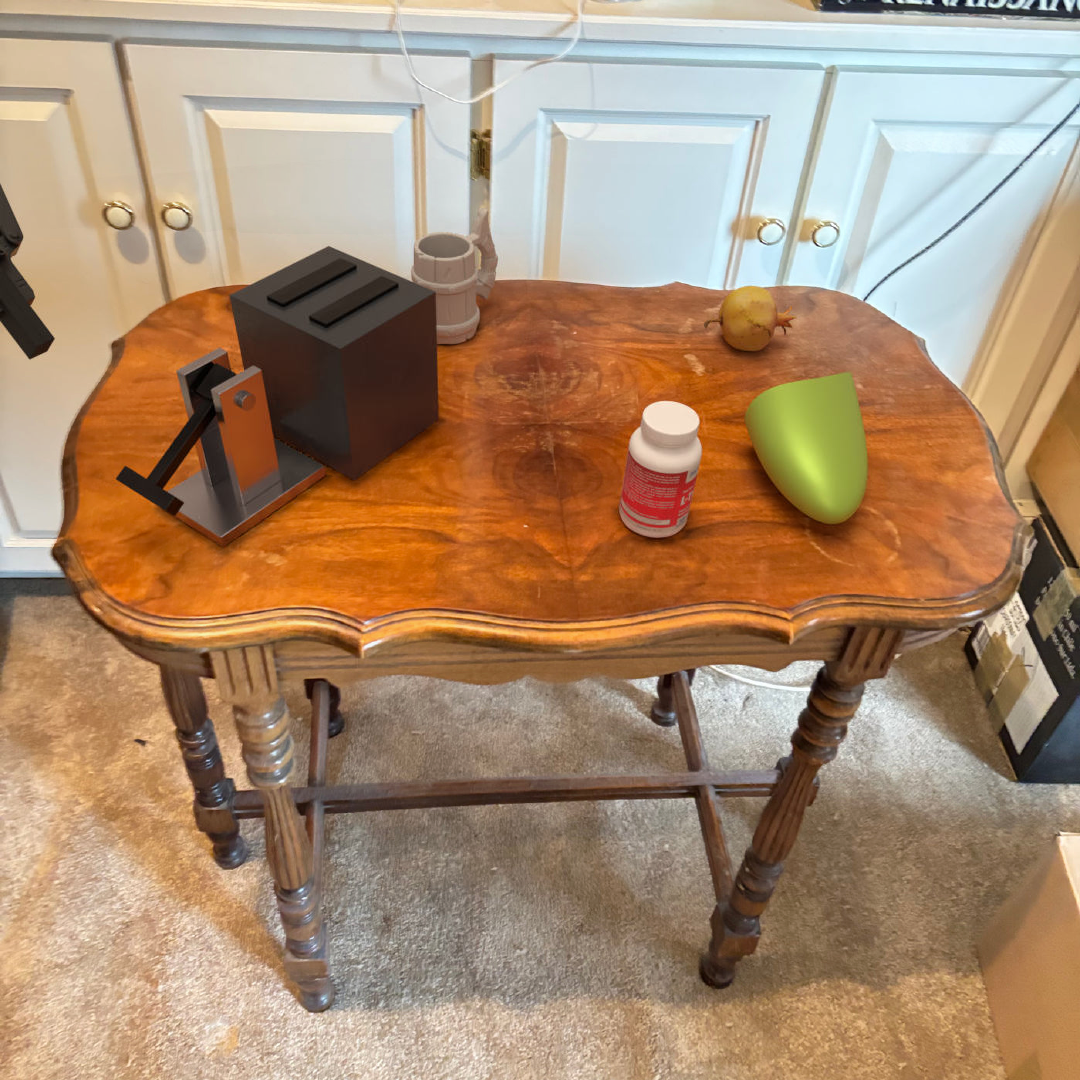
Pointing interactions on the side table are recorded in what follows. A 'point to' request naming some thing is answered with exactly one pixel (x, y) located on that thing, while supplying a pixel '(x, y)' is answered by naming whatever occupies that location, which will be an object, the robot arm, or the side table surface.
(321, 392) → the toaster
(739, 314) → the fruit
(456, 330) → the mug
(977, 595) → the side table surface
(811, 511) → the green rounded cone
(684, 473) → the pill bottle
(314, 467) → the lever bracket
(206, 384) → the lever
